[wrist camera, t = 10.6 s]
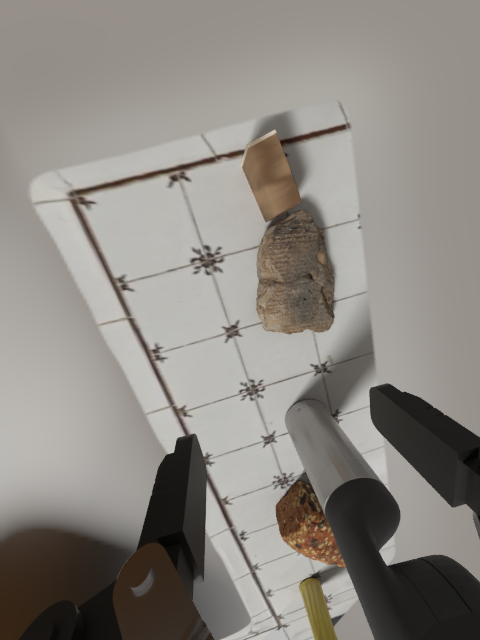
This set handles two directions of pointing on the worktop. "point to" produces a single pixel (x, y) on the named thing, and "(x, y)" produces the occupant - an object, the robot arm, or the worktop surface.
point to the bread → (307, 525)
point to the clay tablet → (294, 277)
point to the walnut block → (270, 176)
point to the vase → (317, 610)
